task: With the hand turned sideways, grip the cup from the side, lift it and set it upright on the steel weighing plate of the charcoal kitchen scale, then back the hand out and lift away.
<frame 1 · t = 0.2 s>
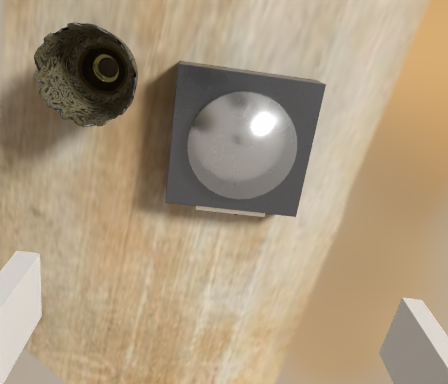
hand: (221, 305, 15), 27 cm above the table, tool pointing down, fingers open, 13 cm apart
cup: (108, 67, 38), on the table
kitchen scale: (239, 138, 40), on the table
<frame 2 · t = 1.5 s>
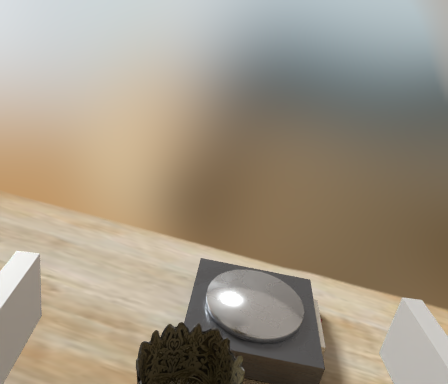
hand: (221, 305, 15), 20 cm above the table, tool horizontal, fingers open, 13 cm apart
kitchen scale: (248, 327, 43), on the table
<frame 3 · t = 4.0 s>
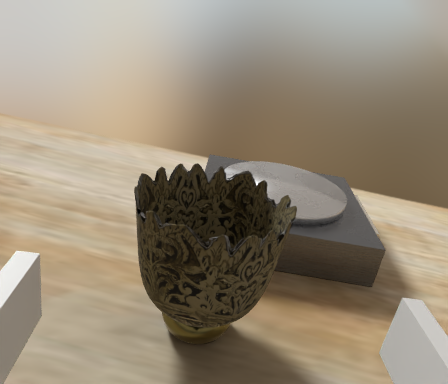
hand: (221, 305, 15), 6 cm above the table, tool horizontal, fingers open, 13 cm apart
cup: (194, 327, 22), on the table
kitchen scale: (274, 226, 34), on the table
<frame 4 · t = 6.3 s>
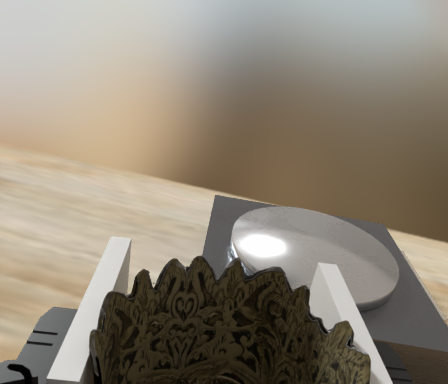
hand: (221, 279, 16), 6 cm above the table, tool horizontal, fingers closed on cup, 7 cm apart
kitchen scale: (299, 294, 26), on the table
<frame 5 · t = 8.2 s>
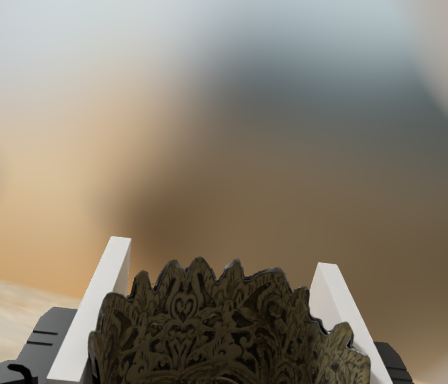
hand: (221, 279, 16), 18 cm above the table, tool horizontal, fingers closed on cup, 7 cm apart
when the fingers open (11 cm above the table, at t = 10.3 s): cup drops 1 cm, resting on kitchen scale.
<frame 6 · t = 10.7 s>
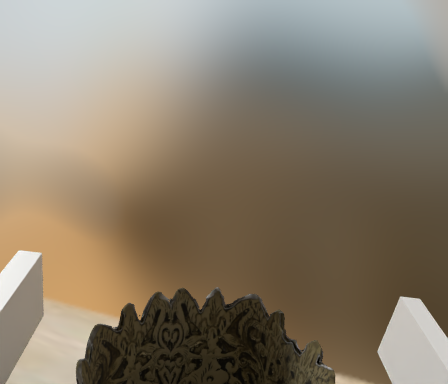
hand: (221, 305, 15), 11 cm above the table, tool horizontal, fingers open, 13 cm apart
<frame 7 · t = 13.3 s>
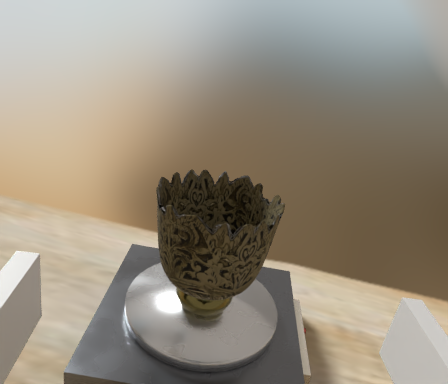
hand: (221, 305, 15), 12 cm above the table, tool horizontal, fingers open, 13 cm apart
cup: (202, 304, 27), point 4 cm above the table, touching kitchen scale
kitchen scale: (195, 344, 28), on the table
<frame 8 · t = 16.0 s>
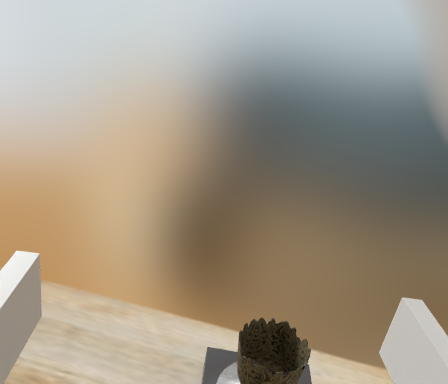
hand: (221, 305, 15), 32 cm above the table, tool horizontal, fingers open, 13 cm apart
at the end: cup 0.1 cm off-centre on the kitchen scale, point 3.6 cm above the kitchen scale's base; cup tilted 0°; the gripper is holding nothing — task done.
